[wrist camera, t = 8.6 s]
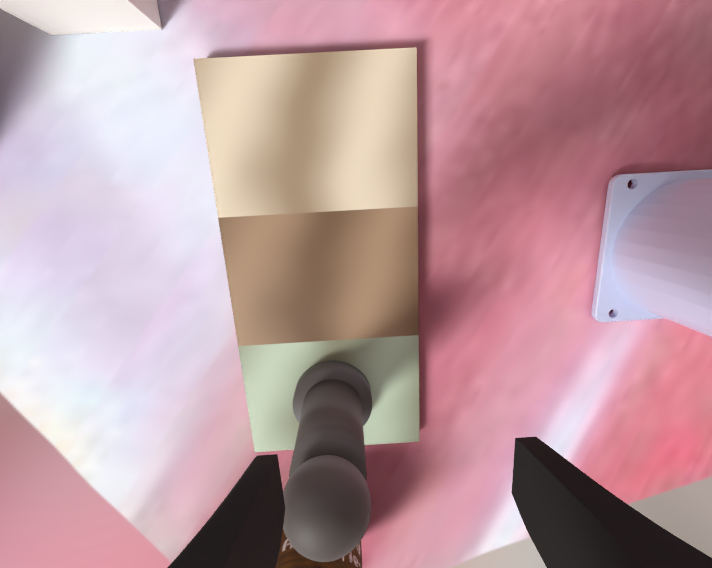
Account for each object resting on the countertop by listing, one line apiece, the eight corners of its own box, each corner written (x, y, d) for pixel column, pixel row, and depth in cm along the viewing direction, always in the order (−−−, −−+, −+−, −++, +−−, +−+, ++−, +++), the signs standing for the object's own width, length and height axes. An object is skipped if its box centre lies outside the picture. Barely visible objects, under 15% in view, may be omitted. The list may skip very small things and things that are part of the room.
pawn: (372, 425, 21) (390, 593, 12) (298, 429, 21) (264, 601, 12) (370, 358, 20) (388, 492, 11) (291, 362, 20) (248, 499, 11)
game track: (413, 53, 17) (416, 47, 16) (416, 432, 22) (419, 441, 21) (200, 65, 16) (193, 58, 16) (258, 442, 22) (254, 452, 21)
